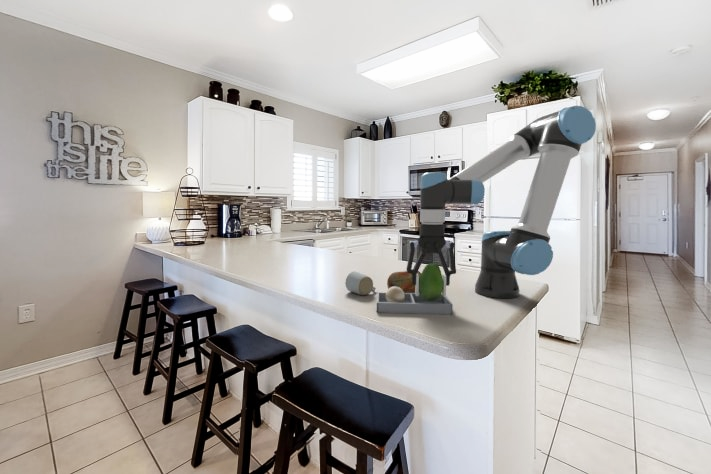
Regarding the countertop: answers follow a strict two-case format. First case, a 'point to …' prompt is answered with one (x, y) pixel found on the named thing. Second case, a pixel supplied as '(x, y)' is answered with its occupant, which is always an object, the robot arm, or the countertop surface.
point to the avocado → (431, 282)
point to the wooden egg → (395, 295)
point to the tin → (402, 281)
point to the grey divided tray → (414, 305)
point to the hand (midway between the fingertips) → (430, 295)
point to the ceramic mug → (359, 283)
